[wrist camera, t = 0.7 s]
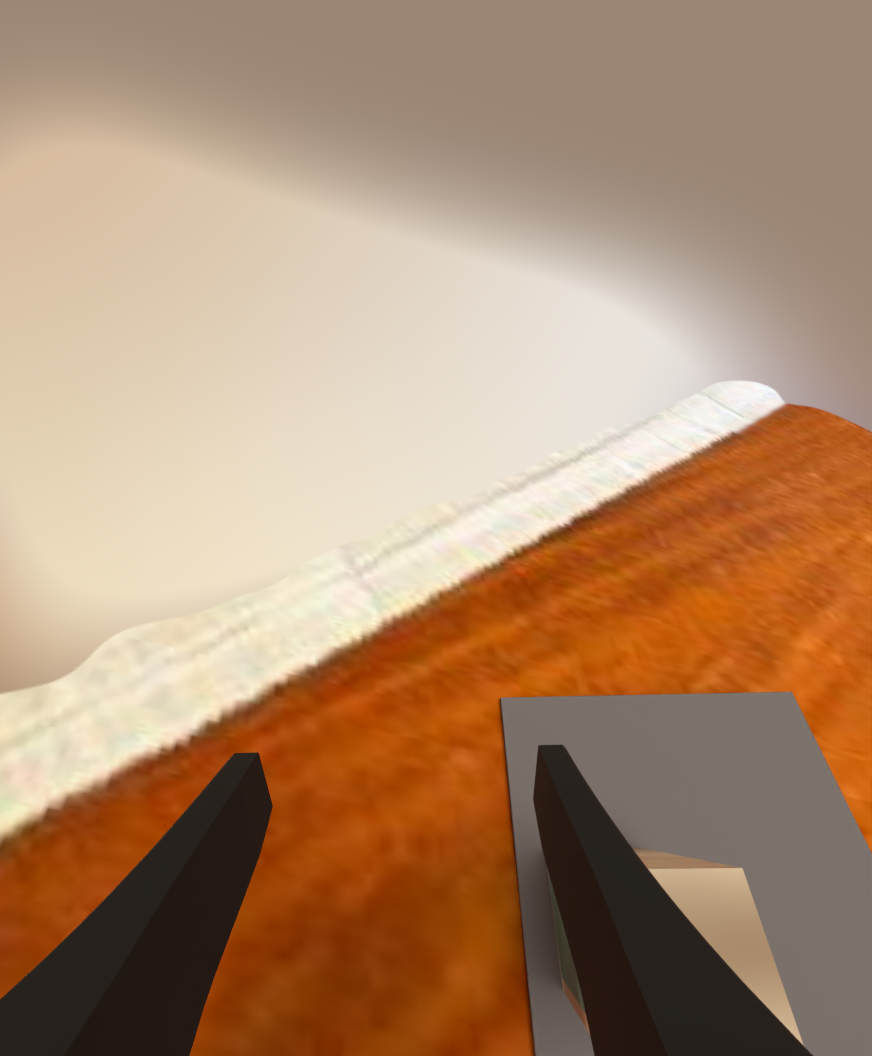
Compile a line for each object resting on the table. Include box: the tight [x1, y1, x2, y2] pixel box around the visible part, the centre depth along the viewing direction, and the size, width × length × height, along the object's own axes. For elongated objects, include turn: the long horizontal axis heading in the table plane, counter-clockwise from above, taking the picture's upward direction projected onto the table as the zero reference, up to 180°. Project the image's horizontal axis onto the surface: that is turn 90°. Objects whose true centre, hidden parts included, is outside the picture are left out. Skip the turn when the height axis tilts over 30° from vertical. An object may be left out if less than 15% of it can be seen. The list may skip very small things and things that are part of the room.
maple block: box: [547, 848, 804, 1046], centre depth 16 cm, size 5×5×9 cm
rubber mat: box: [500, 692, 872, 1056], centre depth 20 cm, size 20×18×1 cm
